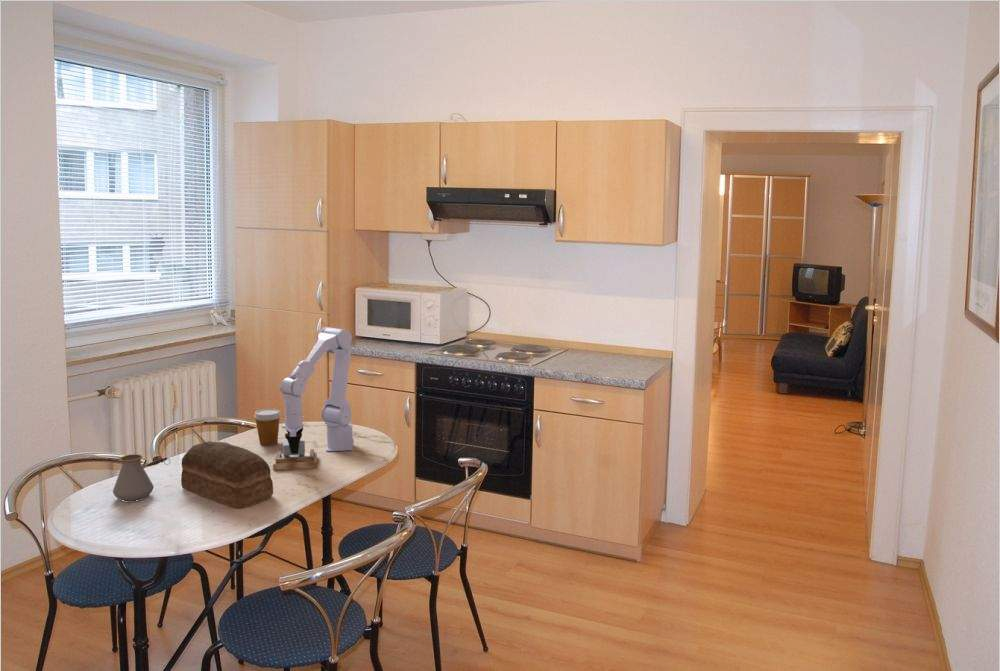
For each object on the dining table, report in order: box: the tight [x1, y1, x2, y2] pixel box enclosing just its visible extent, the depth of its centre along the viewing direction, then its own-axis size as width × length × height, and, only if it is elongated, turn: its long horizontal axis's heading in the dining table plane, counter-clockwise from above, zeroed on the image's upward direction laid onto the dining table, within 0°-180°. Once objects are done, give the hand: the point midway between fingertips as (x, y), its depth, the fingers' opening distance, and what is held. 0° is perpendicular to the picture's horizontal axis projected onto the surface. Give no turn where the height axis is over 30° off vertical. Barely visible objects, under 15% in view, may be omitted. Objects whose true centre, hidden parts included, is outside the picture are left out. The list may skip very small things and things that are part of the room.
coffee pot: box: [112, 453, 171, 502], centre depth 259 cm, size 21×12×15 cm, turn 64°
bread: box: [180, 440, 274, 509], centre depth 265 cm, size 15×32×16 cm, turn 53°
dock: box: [272, 448, 318, 471], centre depth 293 cm, size 14×11×4 cm
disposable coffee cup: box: [253, 408, 282, 447], centre depth 315 cm, size 10×10×12 cm
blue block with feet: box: [282, 440, 306, 458], centre depth 293 cm, size 7×5×5 cm, turn 100°
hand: (295, 450), depth 293 cm, fingers closed on blue block with feet, 4 cm apart
